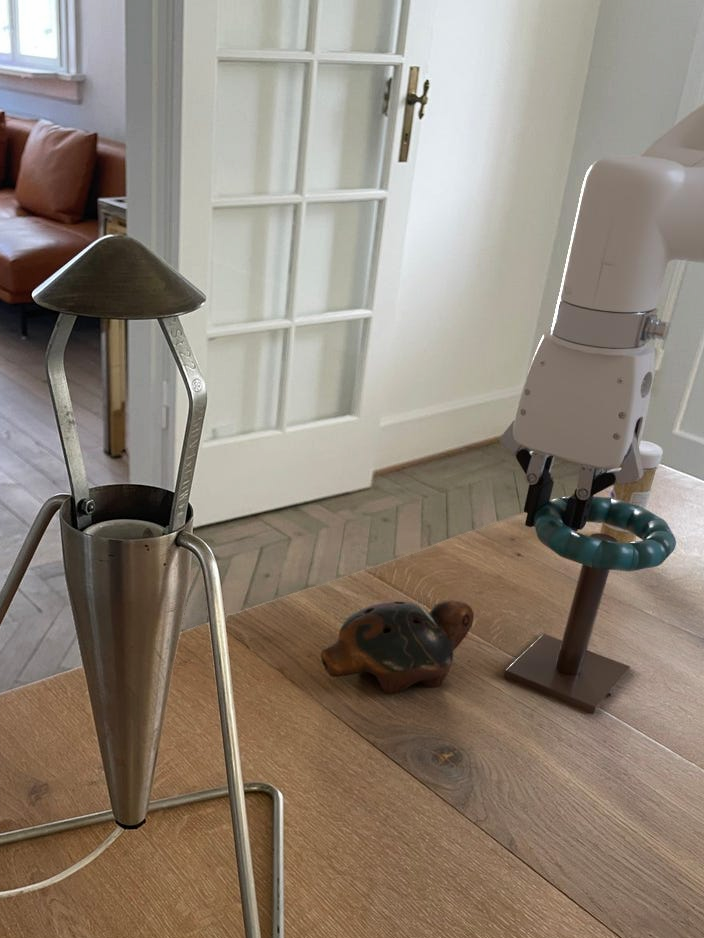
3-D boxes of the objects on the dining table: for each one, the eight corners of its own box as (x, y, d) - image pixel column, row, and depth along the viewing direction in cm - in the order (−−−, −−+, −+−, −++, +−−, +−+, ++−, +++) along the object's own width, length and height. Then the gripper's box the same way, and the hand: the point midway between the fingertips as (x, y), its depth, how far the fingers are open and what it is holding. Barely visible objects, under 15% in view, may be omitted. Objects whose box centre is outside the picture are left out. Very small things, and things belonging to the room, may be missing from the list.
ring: (686, 542, 88) (694, 518, 86) (643, 590, 80) (651, 564, 79) (562, 503, 94) (568, 480, 92) (510, 544, 86) (516, 520, 85)
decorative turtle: (488, 688, 93) (501, 620, 88) (348, 728, 89) (354, 659, 84) (434, 632, 101) (444, 568, 96) (302, 667, 96) (306, 601, 91)
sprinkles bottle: (587, 542, 121) (614, 439, 114) (619, 539, 122) (648, 437, 115) (608, 558, 117) (637, 454, 110) (641, 555, 118) (672, 451, 111)
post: (626, 678, 95) (670, 538, 87) (591, 720, 90) (635, 573, 81) (540, 645, 100) (574, 508, 92) (502, 682, 94) (535, 540, 86)
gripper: (716, 336, 78) (653, 541, 87) (527, 299, 86) (489, 490, 96) (687, 355, 73) (624, 570, 82) (489, 314, 81) (453, 514, 91)
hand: (552, 526), depth 89 cm, fingers closed on ring, 2 cm apart
